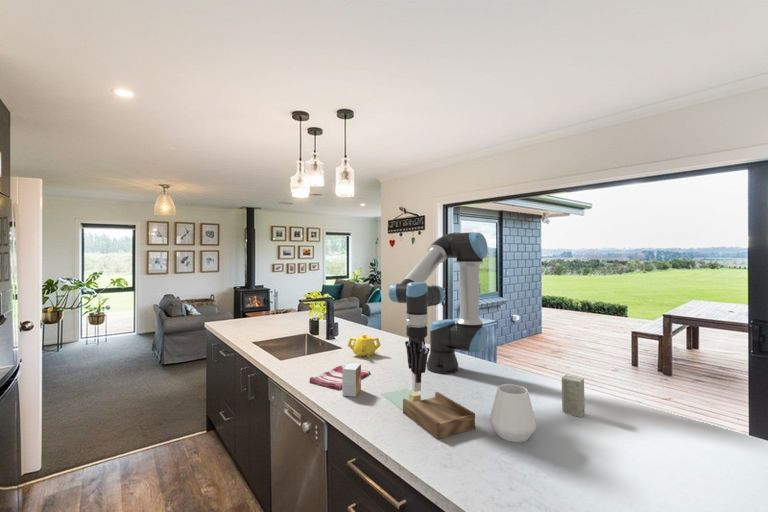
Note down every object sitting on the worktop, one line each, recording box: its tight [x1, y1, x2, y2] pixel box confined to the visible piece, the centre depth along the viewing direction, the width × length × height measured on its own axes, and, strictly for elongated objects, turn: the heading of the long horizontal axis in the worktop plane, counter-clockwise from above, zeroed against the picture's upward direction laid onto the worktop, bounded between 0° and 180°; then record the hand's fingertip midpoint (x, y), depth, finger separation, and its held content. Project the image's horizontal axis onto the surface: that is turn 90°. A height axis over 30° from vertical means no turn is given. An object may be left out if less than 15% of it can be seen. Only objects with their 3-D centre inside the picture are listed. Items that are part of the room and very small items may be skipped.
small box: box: [341, 362, 362, 398], centre depth 143 cm, size 8×6×10 cm
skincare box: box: [561, 374, 586, 418], centre depth 125 cm, size 6×4×12 cm
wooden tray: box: [402, 391, 476, 440], centre depth 119 cm, size 15×20×5 cm
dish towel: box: [308, 365, 372, 391], centre depth 160 cm, size 17×23×3 cm
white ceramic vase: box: [489, 383, 537, 443], centre depth 110 cm, size 13×13×14 cm
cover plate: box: [380, 387, 425, 412], centre depth 136 cm, size 12×18×5 cm
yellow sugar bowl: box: [347, 333, 381, 358], centre depth 196 cm, size 20×18×11 cm
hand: (416, 390), depth 130 cm, fingers closed
